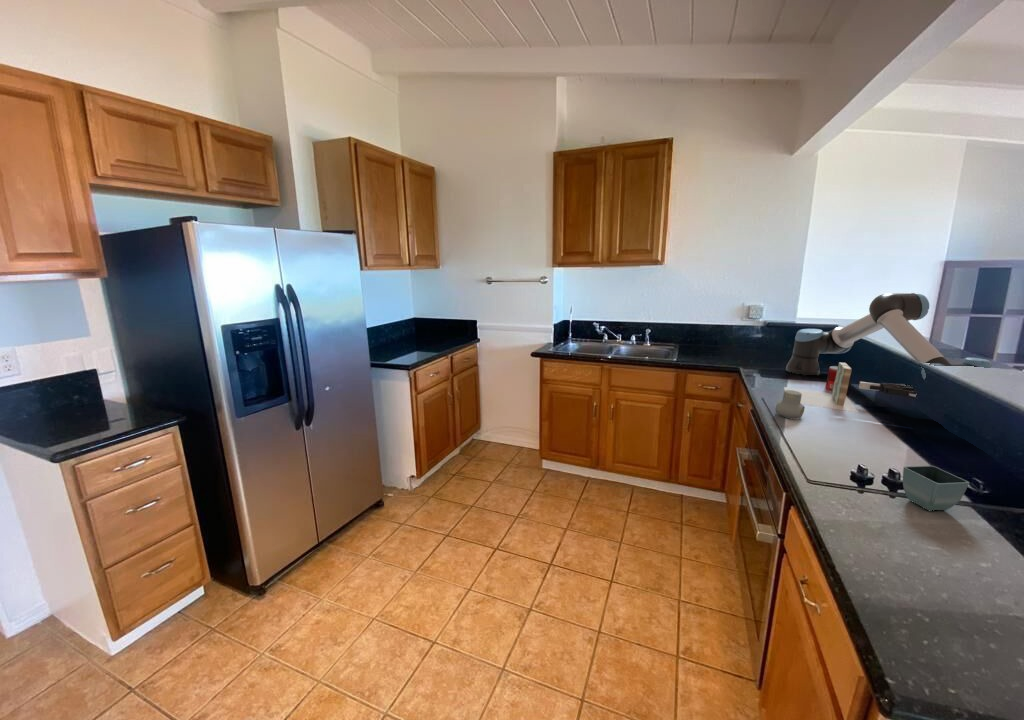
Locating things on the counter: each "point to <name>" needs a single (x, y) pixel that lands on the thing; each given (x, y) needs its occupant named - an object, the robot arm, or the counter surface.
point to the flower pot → (933, 487)
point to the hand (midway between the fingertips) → (859, 385)
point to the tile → (841, 383)
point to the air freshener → (790, 405)
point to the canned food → (831, 377)
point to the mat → (822, 400)
